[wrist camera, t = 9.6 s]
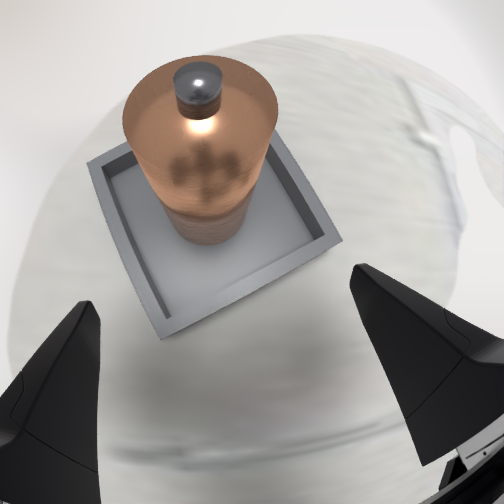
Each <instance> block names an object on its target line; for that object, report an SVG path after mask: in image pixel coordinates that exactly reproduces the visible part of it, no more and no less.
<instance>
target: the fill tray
mask: <svg viewBox="0 0 504 504" xmlns="http://www.w3.org/2000/svg"><path fill="white" fill-rule="evenodd" d="M87 166H88V169H89V172H90V175H91V179H92V182H93V185H94V188H95V191H96V194H97V197H98V200H99V203H100V206H101V208H102V211H103V214H104V217H105V219H106V222H107V225H108V227H109V230H110V232H111V235H112V238H113V240H114V243H115V245H116V247H117V250H118V252H119V255H120V257H121V259H122V262H123V264H124V266H125V269H126V271H127V273H128V275H129V278H130V280H131V282H132V284H133V286H134V289H135V291H136V293H137V295H138V297H139V299H140V301H141V303H142V305H143V307H144V309H145V311H146V313H147V315H148V317H149V319H150V321H151V323H152V325H153V327H154V329H155V331H156V333H157V334H158V336H159V338H160V340H162V339H164V338H166V337H168V336H170V335H172V334H173V333H175V332H177V331H179V330H181V329H183V328H185V327H187V326H189V325H191V324H193V323H195V322H197V321H199V320H201V319H203V318H205V317H207V316H208V315H210V314H212V313H214V312H216V311H218V310H220V309H222V308H224V307H226V306H227V305H229V304H231V303H233V302H235V301H237V300H239V299H240V298H242V297H244V296H246V295H248V294H250V293H252V292H253V291H255V290H257V289H259V288H261V287H263V286H264V285H266V284H268V283H270V282H272V281H273V280H275V279H277V278H279V277H281V276H282V275H284V274H286V273H288V272H290V271H291V270H293V269H295V268H297V267H299V266H300V265H302V264H304V263H306V262H307V261H309V260H311V259H313V258H314V257H316V256H318V255H320V254H321V253H323V252H325V251H326V250H328V249H330V248H332V247H333V246H335V245H337V244H338V243H340V242H342V241H343V240H342V238H341V236H340V235H339V233H338V231H337V229H336V227H335V226H334V224H333V222H332V220H331V219H330V217H329V215H328V213H327V212H326V210H325V208H324V206H323V205H322V203H321V201H320V200H319V198H318V196H317V195H316V193H315V191H314V190H313V188H312V186H311V185H310V183H309V181H308V180H307V178H306V176H305V175H304V173H303V172H302V170H301V168H300V167H299V165H298V164H297V162H296V161H295V159H294V157H293V156H292V154H291V153H290V151H289V150H288V148H287V147H286V145H285V144H284V142H283V141H282V139H281V138H280V136H279V135H278V133H277V132H276V130H275V129H274V131H273V134H272V137H271V140H270V143H269V146H268V149H267V152H266V155H265V158H264V161H263V164H262V167H261V170H260V173H259V176H258V180H257V183H256V186H255V189H254V192H253V195H252V198H251V201H250V204H249V207H248V210H247V214H246V217H245V220H244V222H243V224H242V226H241V228H240V229H239V231H238V232H237V233H236V234H235V235H234V236H233V237H231V238H230V239H228V240H227V241H225V242H223V243H220V244H216V245H209V246H205V245H197V244H194V243H191V242H189V241H187V240H186V239H184V238H183V237H182V236H181V235H179V233H178V232H177V231H176V230H175V228H174V227H173V225H172V223H171V221H170V220H169V218H168V216H167V214H166V213H165V211H164V209H163V207H162V205H161V204H160V202H159V200H158V198H157V196H156V194H155V193H154V191H153V189H152V187H151V185H150V183H149V181H148V180H147V178H146V176H145V174H144V172H143V170H142V168H141V166H140V164H139V163H138V161H137V159H136V157H135V155H134V153H133V151H132V149H131V147H130V145H129V143H128V141H127V142H125V143H123V144H121V145H119V146H117V147H115V148H113V149H111V150H109V151H107V152H106V153H104V154H102V155H100V156H98V157H97V158H95V159H93V160H91V161H90V162H88V163H87Z"/></svg>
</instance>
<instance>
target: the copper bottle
mask: <svg viewBox="0 0 504 504" xmlns="http://www.w3.org/2000/svg"><path fill="white" fill-rule="evenodd" d="M277 118H278V103H277V98H276V96H275V93H274V91H273V89H272V87H271V85H270V84H269V83H268V81H267V80H266V79H265V78H264V77H263V76H262V75H261V74H260V73H259V72H257V71H256V70H254V69H253V68H251V67H250V66H248V65H246V64H244V63H242V62H239V61H237V60H233V59H230V58H226V57H220V56H209V55H202V56H192V57H186V58H182V59H178V60H175V61H172V62H169V63H167V64H165V65H163V66H160V67H159V68H157V69H155V70H154V71H152V72H151V73H149V74H148V75H147V76H145V77H144V78H143V79H142V80H141V81H140V82H139V83H138V84H137V85H136V86H135V88H134V89H133V90H132V92H131V93H130V95H129V97H128V99H127V101H126V104H125V107H124V111H123V117H122V120H123V130H124V134H125V136H126V139H127V141H128V143H129V145H130V147H131V149H132V151H133V153H134V155H135V157H136V159H137V161H138V163H139V164H140V166H141V168H142V170H143V172H144V174H145V176H146V178H147V180H148V181H149V183H150V185H151V187H152V189H153V191H154V193H155V194H156V196H157V198H158V200H159V202H160V204H161V205H162V207H163V209H164V211H165V213H166V214H167V216H168V218H169V220H170V221H171V223H172V225H173V227H174V228H175V230H176V231H177V232H178V233H179V235H181V236H182V237H183V238H184V239H186V240H187V241H189V242H191V243H194V244H197V245H205V246H209V245H216V244H220V243H223V242H225V241H227V240H228V239H230V238H231V237H233V236H234V235H235V234H236V233H237V232H238V231H239V229H240V228H241V226H242V224H243V222H244V220H245V217H246V214H247V210H248V207H249V204H250V201H251V198H252V195H253V192H254V189H255V186H256V183H257V180H258V176H259V173H260V170H261V167H262V164H263V161H264V158H265V155H266V152H267V149H268V146H269V143H270V140H271V137H272V134H273V131H274V128H275V125H276V122H277Z"/></svg>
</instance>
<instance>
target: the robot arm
mask: <svg viewBox="0 0 504 504" xmlns="http://www.w3.org/2000/svg"><path fill="white" fill-rule="evenodd" d="M350 290H351V293H352V295H353V298H354V301H355V303H356V306H357V309H358V312H359V315H360V317H361V320H362V323H363V325H364V327H365V329H366V332H367V334H368V336H369V338H370V340H371V342H372V344H373V346H374V349H375V351H376V353H377V355H378V357H379V360H380V362H381V364H382V366H383V369H384V371H385V373H386V375H387V378H388V380H389V382H390V385H391V387H392V389H393V392H394V394H395V396H396V399H397V401H398V404H399V406H400V409H401V411H402V414H403V416H404V419H405V422H406V424H407V427H408V429H409V432H410V434H411V437H412V440H413V442H414V445H415V448H416V451H417V453H418V456H419V459H420V462H421V464H422V466H425V465H427V464H429V463H431V462H433V461H435V460H436V459H438V458H440V457H442V456H443V455H445V454H447V453H449V452H450V451H452V450H453V449H455V448H456V451H457V453H458V455H457V456H455V457H454V458H452V459H451V460H450V461H448V462H447V465H446V468H445V471H444V474H443V477H442V480H441V483H440V486H439V488H438V489H439V492H437V493H436V494H434V495H433V496H431V497H430V498H428V499H426V500H425V501H423V502H421V503H420V504H504V339H501V338H498V337H496V336H494V335H492V334H490V333H488V332H487V331H485V330H483V329H481V328H479V327H477V326H475V325H473V324H471V323H469V322H467V321H465V320H464V319H462V318H460V317H458V316H457V315H455V314H453V313H451V312H450V311H448V310H447V309H445V308H443V307H441V306H440V305H438V304H436V303H435V302H433V301H431V300H430V299H428V298H426V297H425V296H423V295H421V294H419V293H418V292H416V291H414V290H412V289H411V288H409V287H407V286H405V285H404V284H402V283H400V282H398V281H397V280H395V279H393V278H391V277H390V276H388V275H386V274H384V273H382V272H381V271H379V270H377V269H375V268H373V267H371V266H370V265H368V264H366V263H362V264H357V265H355V266H354V267H353V271H352V275H351V279H350ZM100 326H101V323H100V318H99V316H98V314H97V312H96V310H95V308H94V306H93V304H92V302H91V301H89V300H87V301H80V302H78V303H77V304H76V306H75V307H74V308H73V309H72V310H71V311H70V312H69V313H68V314H67V316H66V317H65V318H64V319H63V320H62V321H61V322H60V323H59V325H58V326H57V327H56V328H55V329H54V330H53V332H52V333H51V334H50V335H49V336H48V338H47V339H46V340H45V341H44V342H43V344H42V345H41V346H40V347H39V348H38V350H37V351H36V352H35V353H34V355H33V356H32V357H31V358H30V360H29V361H28V362H27V363H26V365H25V366H24V367H23V369H22V371H20V372H19V374H18V375H17V376H16V378H15V379H14V380H13V382H12V383H11V384H10V386H9V387H8V388H7V389H6V391H5V392H4V393H3V394H2V395H1V397H0V504H101V498H100V487H99V475H98V459H97V405H98V386H99V372H100Z"/></svg>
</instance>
